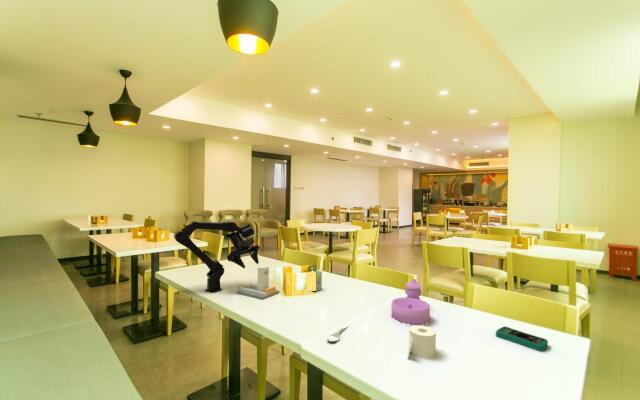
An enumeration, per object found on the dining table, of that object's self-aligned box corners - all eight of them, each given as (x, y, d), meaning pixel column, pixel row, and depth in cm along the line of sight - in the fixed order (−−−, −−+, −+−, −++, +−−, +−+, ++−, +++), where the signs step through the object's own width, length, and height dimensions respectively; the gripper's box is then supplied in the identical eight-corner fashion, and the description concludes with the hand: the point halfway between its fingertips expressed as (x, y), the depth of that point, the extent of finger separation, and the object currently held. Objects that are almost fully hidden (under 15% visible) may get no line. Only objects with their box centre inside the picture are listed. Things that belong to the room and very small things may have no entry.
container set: (428, 328, 119) (429, 295, 119) (388, 322, 125) (389, 290, 125) (430, 307, 142) (431, 279, 142) (397, 303, 148) (397, 275, 148)
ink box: (314, 292, 162) (314, 267, 162) (308, 291, 164) (308, 266, 164) (321, 289, 167) (322, 265, 167) (316, 288, 170) (316, 264, 170)
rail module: (257, 292, 157) (257, 267, 157) (262, 290, 160) (262, 265, 160) (263, 293, 155) (263, 268, 155) (268, 291, 158) (268, 266, 158)
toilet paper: (407, 359, 96) (407, 337, 96) (410, 343, 106) (410, 323, 106) (435, 364, 93) (435, 342, 93) (435, 348, 103) (435, 327, 103)
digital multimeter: (542, 354, 101) (542, 345, 101) (494, 337, 113) (494, 329, 113) (549, 347, 106) (550, 339, 106) (503, 332, 118) (503, 324, 117)
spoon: (323, 343, 106) (324, 339, 106) (345, 322, 125) (345, 318, 125) (335, 346, 104) (335, 341, 104) (354, 324, 123) (355, 320, 123)
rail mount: (236, 293, 158) (236, 285, 158) (253, 287, 170) (253, 280, 170) (262, 299, 149) (262, 291, 149) (279, 292, 161) (279, 285, 161)
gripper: (230, 236, 156) (244, 261, 151) (257, 230, 171) (271, 253, 166) (220, 248, 161) (234, 273, 156) (248, 242, 176) (261, 264, 171)
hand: (251, 265), depth 162 cm, fingers open, 9 cm apart
